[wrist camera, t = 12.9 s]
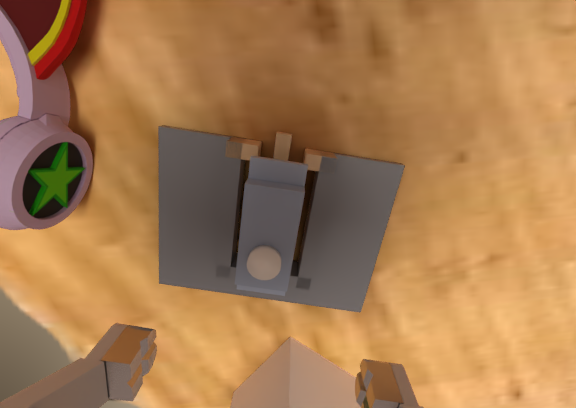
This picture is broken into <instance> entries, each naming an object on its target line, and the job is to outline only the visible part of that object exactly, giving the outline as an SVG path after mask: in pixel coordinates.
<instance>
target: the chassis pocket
mask: <svg viewBox="0 0 576 408" xmlns="http://www.w3.org/2000/svg"><path fill="white" fill-rule="evenodd" d="M261 147H262V141H257V140H251V139H244V138H238V137H232V136H226V135H219V134H213V133H207V132H201V131H194V130H188V129H182V128H176V127H169V126H159V284H166V285H173V286H180V287H187V288H194V289H201V290H208V291H215V292H222V293H229V294H236V295H243V296H250V297H257V298H264V299H271V300H278V301H285V302H292V303H299V304H306V305H313V306H319V307H326V308H333V309H340V310H347V311H354V312H361V309H362V306H363V303H364V299H365V296H366V293H367V289H368V286H369V283H370V279H371V276H372V273H373V270H374V266H375V263H376V260H377V256H378V253H379V250H380V246H381V243H382V240H383V236H384V233H385V230H386V227H387V223H388V220H389V217H390V213H391V210H392V207H393V203H394V200H395V197H396V193H397V190H398V187H399V184H400V180H401V177H402V174H403V170H404V167H405V165H403V164H401V163H395V162H388V161H382V160H376V159H370V158H363V157H357V156H351V155H345V154H338V153H332V152H326V151H320V150H313V149H307V148H305V152H304V158H303V163H304V164H308V169H307V170H312V171H315V176H314V181H313V186H312V191H311V196H310V202H309V207H308V212H307V217H306V222H305V228H304V233H303V238H302V243H301V248H300V254H299V259H298V262H297V261H293V262H292V267H291V273H290V278H289V284H288V289H287V292H285V296H281V295H274V294H267V293H260V292H253V291H246V290H238V289H237V285H235V276H236V266H237V256H238V253H236V248H237V239H238V229H239V219H240V210H241V200H242V190H243V181H244V171H245V161H246V160H249V161H250V157H251V156H252V155H253V156H259V157H260V155H261Z"/></svg>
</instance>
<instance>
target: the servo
mask: <svg viewBox="0 0 576 408" xmlns="http://www.w3.org/2000/svg"><path fill="white" fill-rule="evenodd" d="M291 138H292V134H291V133H285V132H278V131H277V133H276V141H275V148H274V155H273V159H272V158H266V157H259V156H253V155H252V156H251V157H250V166H249V176H248V179H247V181H246V182H245V188H244V197H243V207H242V217H241V227H240V236H239V246H238V256H237V266H236V276H235V285H237V289H238V290H246V291H253V292H260V293H267V294H274V295H281V296H285V292H287V289H288V284H289V278H290V273H291V267H292V262H293V256H294V251H295V245H296V240H297V234H298V228H299V223H300V217H301V212H302V206H303V201H304V195H305V188H304V186H305V180H306V175H307V169H308V164H304V163H298V162H292V161H288V158H289V151H290V145H291Z"/></svg>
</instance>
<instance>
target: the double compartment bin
mask: <svg viewBox="0 0 576 408" xmlns="http://www.w3.org/2000/svg"><path fill="white" fill-rule="evenodd" d="M355 380H356V377H354V376H353V375H351V374H350V373H348V372H346V371H345V370H343V369H342V368H340V367H338V366H337V365H335V364H334V363H332V362H331V361H329V360H327V359H326V358H324V357H323V356H321V355H319V354H318V353H316V352H315V351H313V350H311V349H310V348H308V347H307V346H305V345H303V344H302V343H300V342H299V341H297V340H295V339H294V338H292V337H289V338H288V339H287V340H286V341H285V342H284V343H283V344H282V345H281V346H280V347H279V348H278V349H277V350H276V351H275V352H274V353H273V354H272V355H271V356H270V357H269V358H268V359H267V360H266V361H265V362H264V363H263V364H262V365H261V366H260V367H259V368H258V369H257V370H256V371H255V372H254V373H253V374H252V375H251V376H250V377H249V378H247V379H246V380H245V381H244V382H243V383H242V384H241V385H240V386H239V387H238V388H237V389H236V390H235V391H234V392H233V397H232V402H231V407H230V408H361V407H360V405H359V404H358V403H357V402H356V396H355Z"/></svg>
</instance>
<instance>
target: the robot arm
mask: <svg viewBox="0 0 576 408" xmlns="http://www.w3.org/2000/svg"><path fill="white" fill-rule="evenodd" d="M155 338H156V330H154V329H149V328H143V327H137V326H132V325H125V324H119V323H116V324H114V325H113V326H111V328H110V329H109V330H108V331H107V332H106V334H105V335H104V336H103V337H102V338H101V340H100V341H99V342H98V343H97V345H96V346H95V347H94V348H93V349H92V351H91V352H90V353H89V354H88V355H87V357H86V358H85V359H83V358H80V359H78V360H77V361H75V362H73V363H71V364H69V365H67V366H66V367H64V368H62V369H60V370H58V371H56V372H55V373H53V374H51V375H49V376H47V377H45V378H44V379H42V380H40V381H38V382H36V383H34V384H33V385H31V386H29V387H27V388H25V389H24V390H22V391H20V392H18V393H17V394H14V395H13V396H11V397H9V398H7V399H5V400H3V401H2V402H0V408H99V407H101V406H102V405H103V404H104V403H106V402H107V401H108V399H117V400H126V401H133V400H134V398H135V396H136V395H137V393H138V391H139V389H140V387H141V386H142V384H143V379H142V377H143V376H144V375H145V374H147V373H148V372H149V371H150V369H151V367H152V365H153V362H154V360H155V357H156V351H157V345H156V344H155V343H154V340H155ZM360 369H361V372H360V373H358V374H357V377H356V380H355V396H356V402H357V403H358V404H359V405H360V407H361V408H424V407H421V406H419V405H418V402H417V400H416V397H415V395H414V392H413V390H412V387H411V384H410V382H409V379H408V377H407V374H406V372H405V369H404V367H403V366H402V364H395V363H388V362H382V361H374V360H366V359H363V360H362V361H361V364H360Z"/></svg>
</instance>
